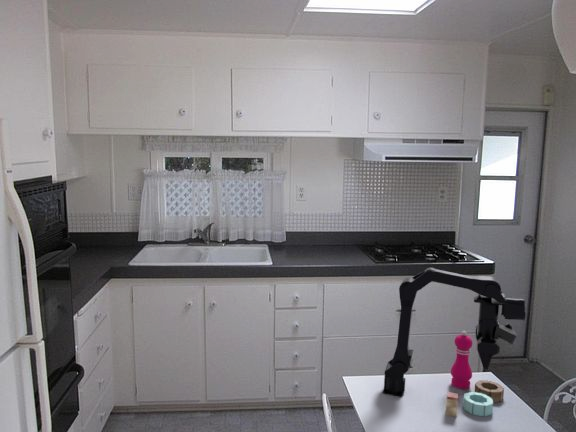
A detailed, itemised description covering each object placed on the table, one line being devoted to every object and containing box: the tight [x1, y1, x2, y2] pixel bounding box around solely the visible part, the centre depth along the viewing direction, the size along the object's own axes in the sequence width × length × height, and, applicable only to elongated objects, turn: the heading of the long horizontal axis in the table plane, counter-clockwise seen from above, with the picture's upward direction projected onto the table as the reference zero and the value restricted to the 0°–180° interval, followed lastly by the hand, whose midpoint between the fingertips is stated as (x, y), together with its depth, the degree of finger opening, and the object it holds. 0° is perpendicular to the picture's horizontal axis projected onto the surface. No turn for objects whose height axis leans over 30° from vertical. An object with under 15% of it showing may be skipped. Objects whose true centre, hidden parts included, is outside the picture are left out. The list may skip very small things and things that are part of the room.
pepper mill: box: [450, 330, 474, 390], centre depth 168 cm, size 7×7×20 cm
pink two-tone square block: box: [445, 391, 459, 417], centre depth 150 cm, size 3×3×6 cm
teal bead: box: [462, 391, 494, 417], centre depth 153 cm, size 9×9×4 cm
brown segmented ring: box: [474, 379, 505, 403], centre depth 162 cm, size 9×9×4 cm
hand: (484, 363), depth 153 cm, fingers open, 9 cm apart
